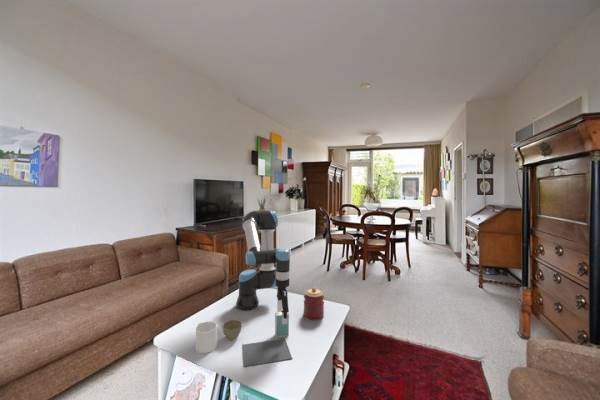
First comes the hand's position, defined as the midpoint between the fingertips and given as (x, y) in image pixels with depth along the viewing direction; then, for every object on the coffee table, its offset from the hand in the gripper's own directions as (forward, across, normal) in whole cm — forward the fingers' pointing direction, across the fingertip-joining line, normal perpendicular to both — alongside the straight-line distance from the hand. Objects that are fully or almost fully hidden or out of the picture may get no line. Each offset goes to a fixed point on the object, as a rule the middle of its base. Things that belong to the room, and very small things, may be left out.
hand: (282, 317), depth 132 cm
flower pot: (+10, -5, -26) cm, 28 cm away
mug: (+10, -1, -39) cm, 40 cm away
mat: (+10, +11, -10) cm, 18 cm away
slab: (+10, -1, 0) cm, 10 cm away
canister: (+10, -18, +24) cm, 31 cm away
